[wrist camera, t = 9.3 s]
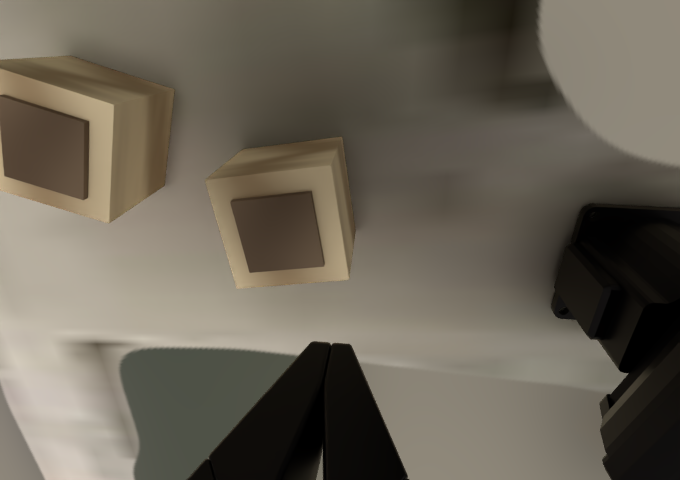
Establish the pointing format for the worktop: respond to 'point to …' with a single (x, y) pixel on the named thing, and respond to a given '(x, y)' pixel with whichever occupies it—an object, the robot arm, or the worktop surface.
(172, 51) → the worktop surface
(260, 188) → the number block
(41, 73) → the number block
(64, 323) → the worktop surface
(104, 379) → the worktop surface
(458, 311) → the worktop surface
